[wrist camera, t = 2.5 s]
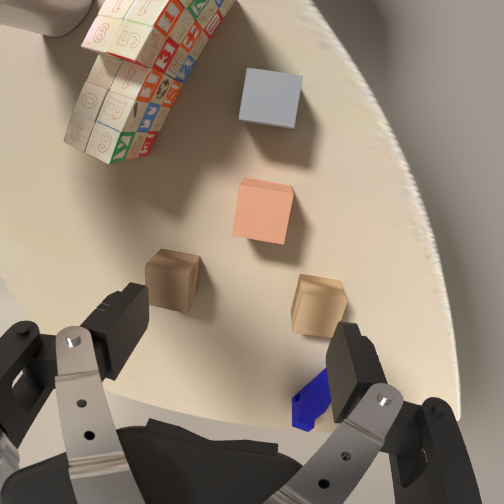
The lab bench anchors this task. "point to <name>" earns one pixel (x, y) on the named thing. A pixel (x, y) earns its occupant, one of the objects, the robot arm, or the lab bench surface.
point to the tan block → (172, 280)
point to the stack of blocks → (138, 72)
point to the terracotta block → (263, 210)
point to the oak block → (317, 306)
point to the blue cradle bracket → (311, 402)
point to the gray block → (270, 98)
